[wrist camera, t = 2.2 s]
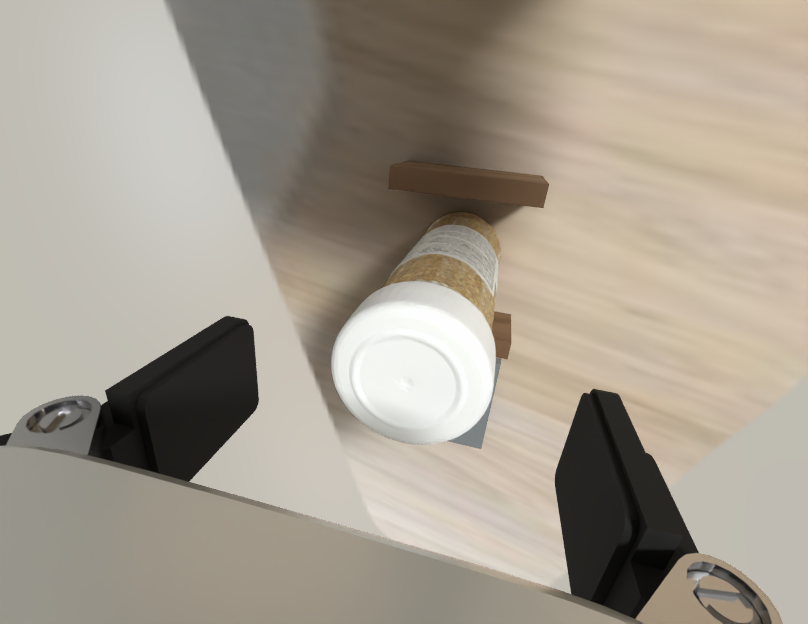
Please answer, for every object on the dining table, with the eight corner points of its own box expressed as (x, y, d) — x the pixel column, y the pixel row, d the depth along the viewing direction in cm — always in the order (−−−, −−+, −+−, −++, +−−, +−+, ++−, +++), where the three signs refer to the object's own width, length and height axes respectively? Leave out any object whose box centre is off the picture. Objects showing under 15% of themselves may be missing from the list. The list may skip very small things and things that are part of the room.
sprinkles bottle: (461, 302, 24) (414, 476, 12) (405, 250, 23) (295, 377, 11) (519, 248, 21) (534, 394, 10) (459, 190, 21) (394, 267, 9)
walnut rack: (407, 160, 21) (390, 165, 18) (542, 176, 20) (548, 184, 17) (395, 308, 25) (379, 334, 22) (507, 329, 23) (507, 359, 20)
